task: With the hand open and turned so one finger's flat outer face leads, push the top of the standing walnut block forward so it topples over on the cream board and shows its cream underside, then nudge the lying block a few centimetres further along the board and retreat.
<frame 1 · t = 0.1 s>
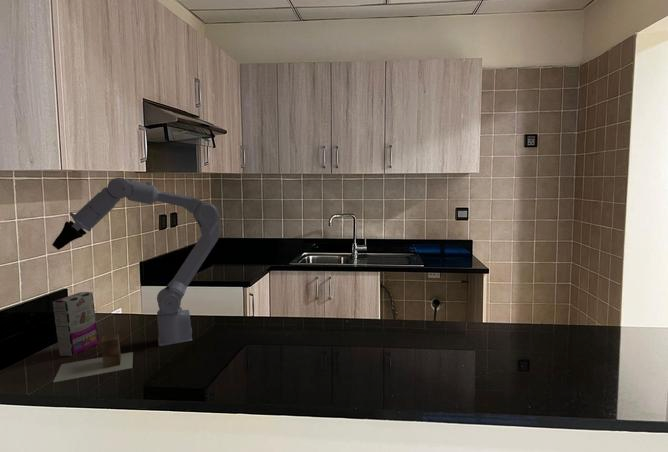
hand: (57, 246, 134), 32 cm above the counter, tool tilted 50°, fingers open, 7 cm apart
walnut block: (112, 363, 129), resting on cream board
candy bar box: (79, 350, 143), on the counter
cream board: (96, 366, 128), on the counter
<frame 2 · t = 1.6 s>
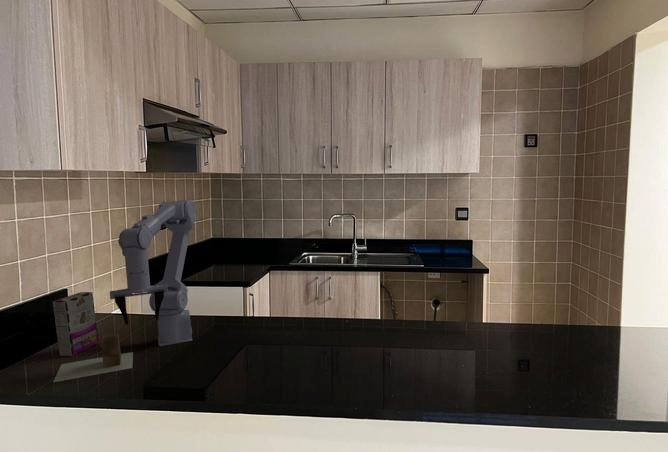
hand: (142, 321, 131), 10 cm above the counter, tool pointing down, fingers open, 7 cm apart
nothing on the counter moved.
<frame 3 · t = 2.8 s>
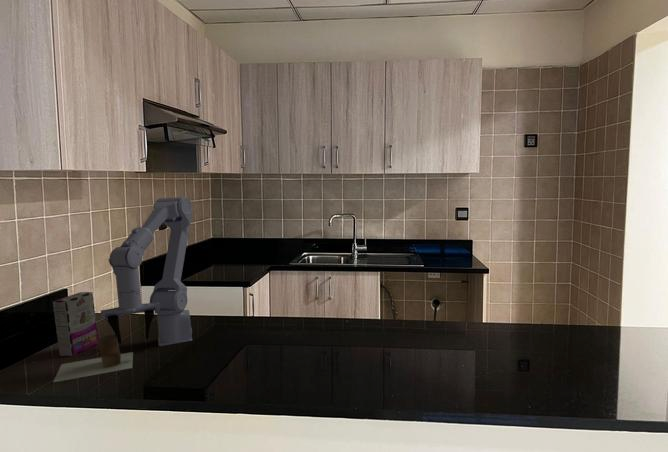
hand: (133, 340, 131), 5 cm above the counter, tool pointing down, fingers open, 6 cm apart
walnut block: (112, 362, 129), resting on cream board, touching gripper
everything else where it was.
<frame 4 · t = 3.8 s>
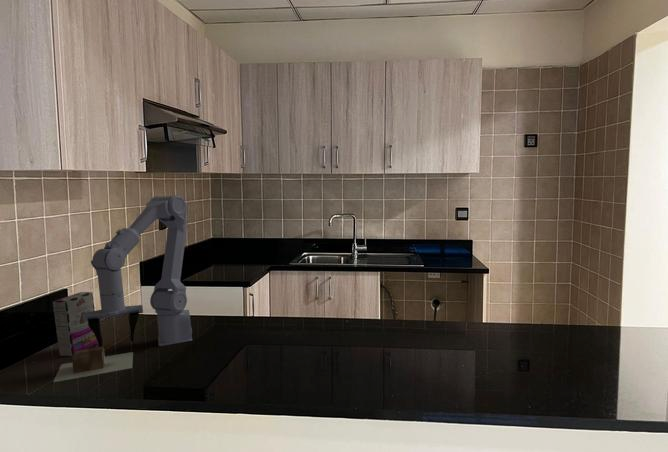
hand: (116, 343, 130), 5 cm above the counter, tool pointing down, fingers open, 7 cm apart
walnut block: (103, 357, 129), point 2 cm above the counter, tilted 90°, touching cream board
everything else where it was.
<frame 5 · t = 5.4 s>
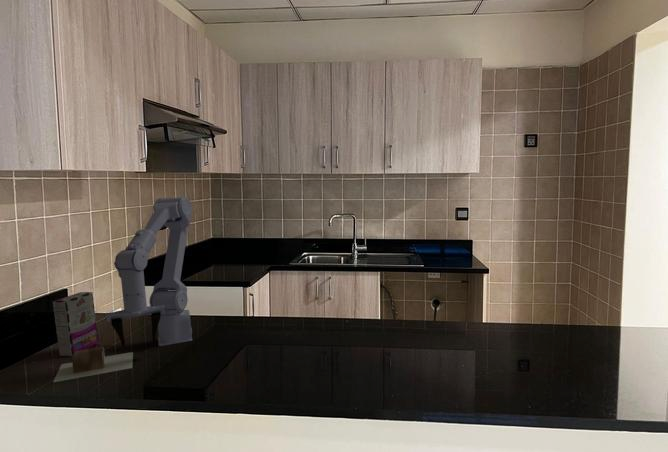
hand: (138, 342, 132), 4 cm above the counter, tool pointing down, fingers open, 7 cm apart
nothing on the counter moved.
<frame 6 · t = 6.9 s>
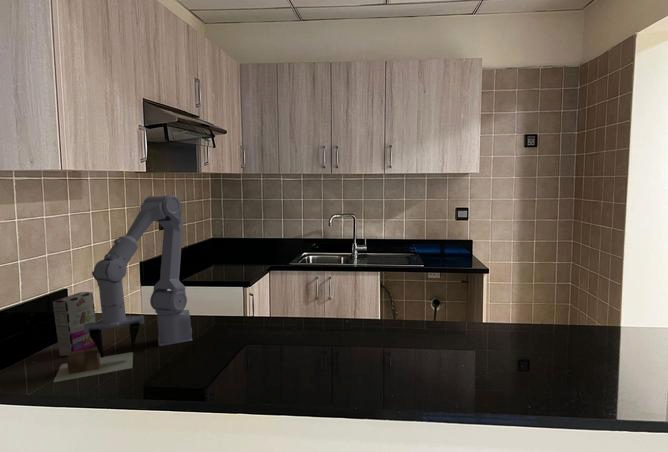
hand: (117, 353, 130), 2 cm above the counter, tool pointing down, fingers open, 7 cm apart
walnut block: (99, 357, 128), point 2 cm above the counter, tilted 90°, touching gripper
everything else where it was.
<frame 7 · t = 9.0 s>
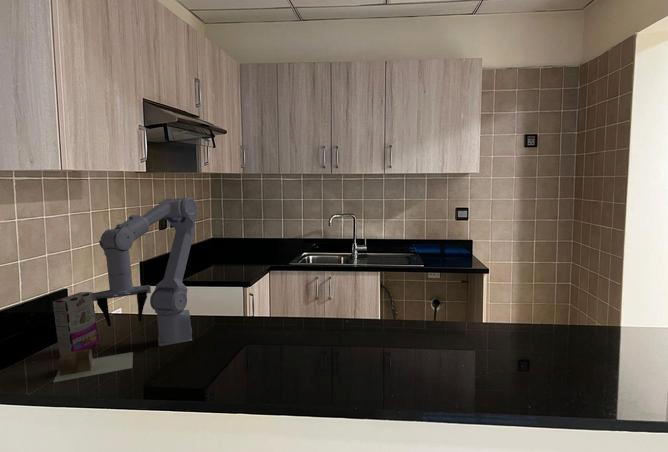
hand: (124, 322, 131), 10 cm above the counter, tool pointing down, fingers open, 7 cm apart
walnut block: (91, 359, 127), point 2 cm above the counter, tilted 90°, touching cream board
everything else where it was.
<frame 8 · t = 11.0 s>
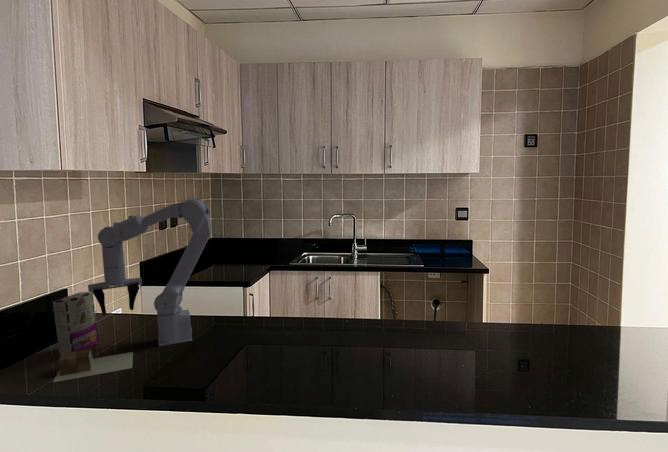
hand: (118, 311, 144), 10 cm above the counter, tool pointing down, fingers open, 7 cm apart
nothing on the counter moved.
at the end: walnut block tilted 90°; walnut block inside the target area (1.0 cm from its centre), point 2.2 cm above the counter; the gripper is holding nothing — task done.
